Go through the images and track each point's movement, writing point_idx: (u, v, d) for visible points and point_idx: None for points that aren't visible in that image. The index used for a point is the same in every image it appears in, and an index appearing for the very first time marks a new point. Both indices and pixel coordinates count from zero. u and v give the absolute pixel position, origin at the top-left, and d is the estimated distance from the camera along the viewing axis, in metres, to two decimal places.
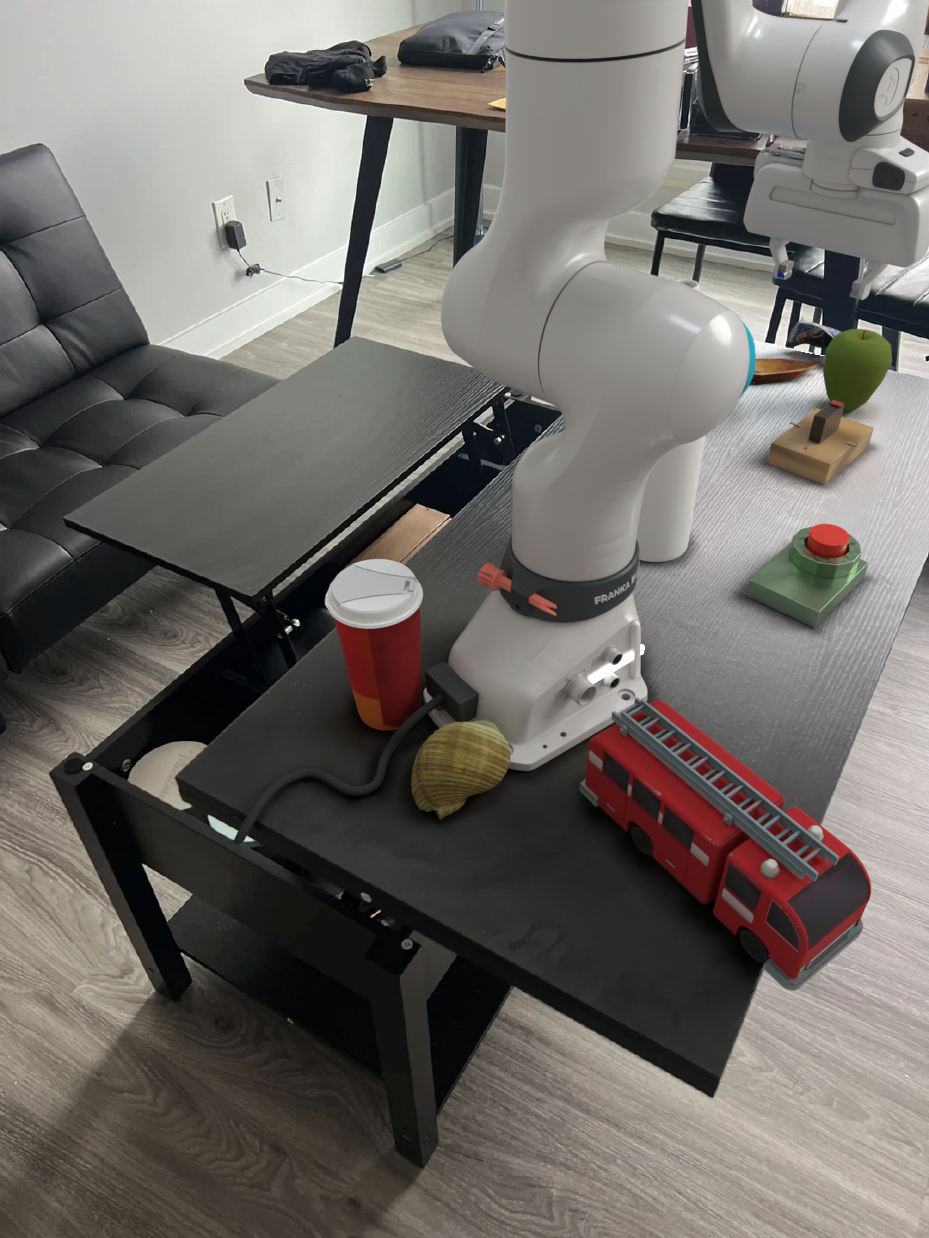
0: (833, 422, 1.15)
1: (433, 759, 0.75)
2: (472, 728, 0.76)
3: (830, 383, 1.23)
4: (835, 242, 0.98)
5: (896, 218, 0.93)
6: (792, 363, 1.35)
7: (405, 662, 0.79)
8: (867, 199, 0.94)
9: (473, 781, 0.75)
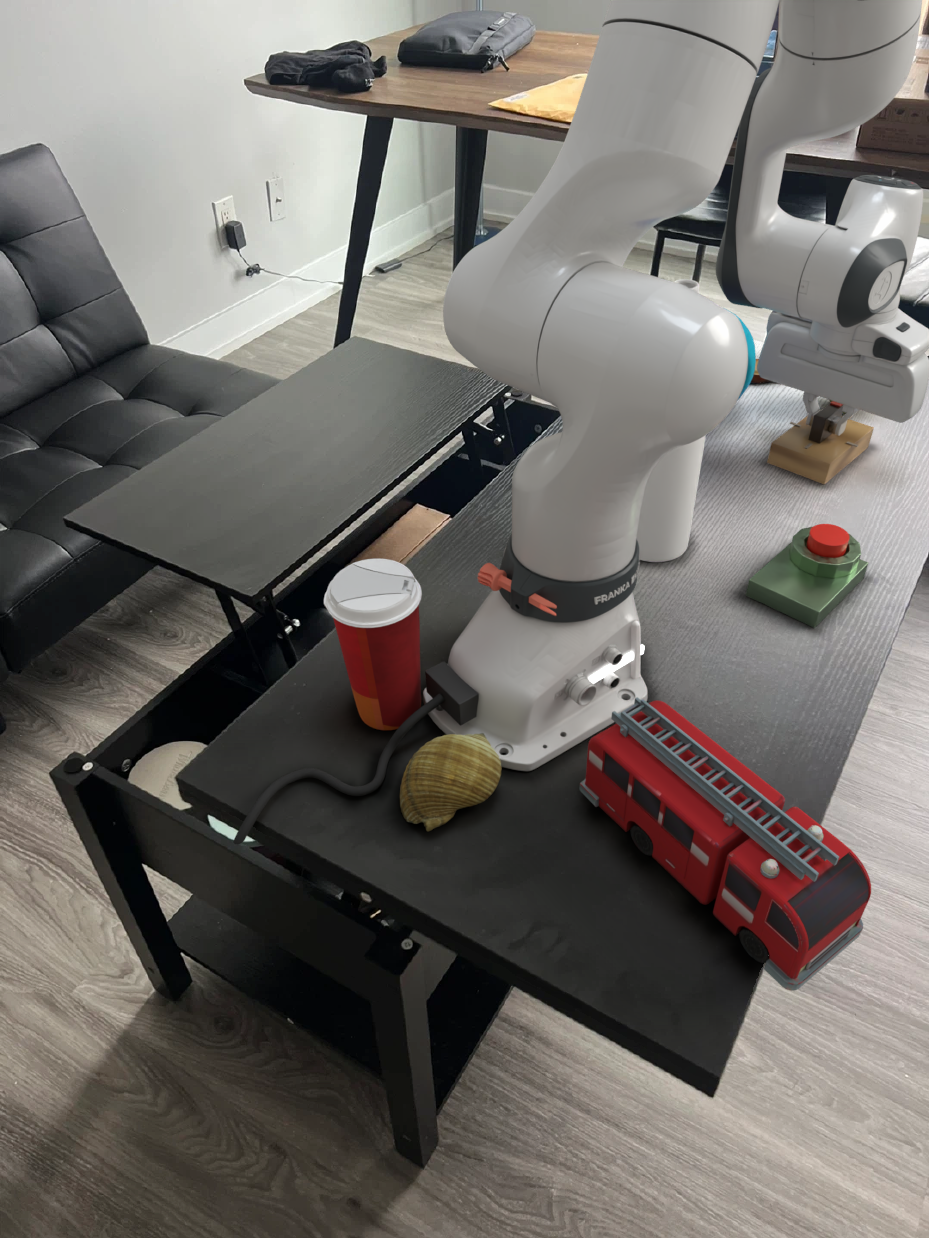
0: None
1: (423, 769, 0.74)
2: (463, 740, 0.75)
3: None
4: (839, 395, 1.10)
5: (894, 382, 1.05)
6: None
7: (403, 662, 0.79)
8: (867, 364, 1.05)
9: (462, 793, 0.74)
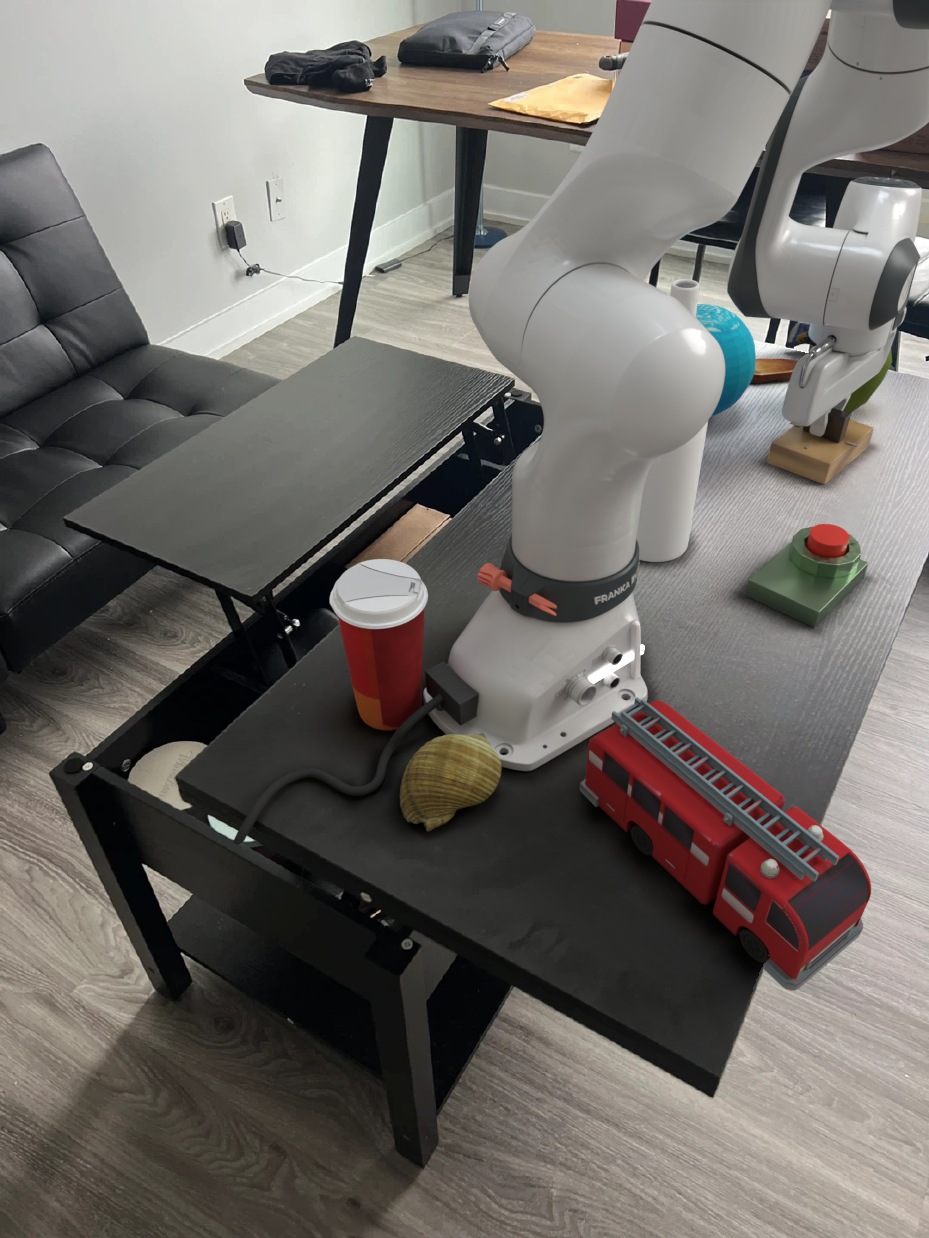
0: None
1: (423, 769, 0.74)
2: (463, 740, 0.75)
3: None
4: (853, 387, 1.12)
5: None
6: (792, 363, 1.35)
7: (407, 664, 0.79)
8: None
9: (462, 793, 0.74)
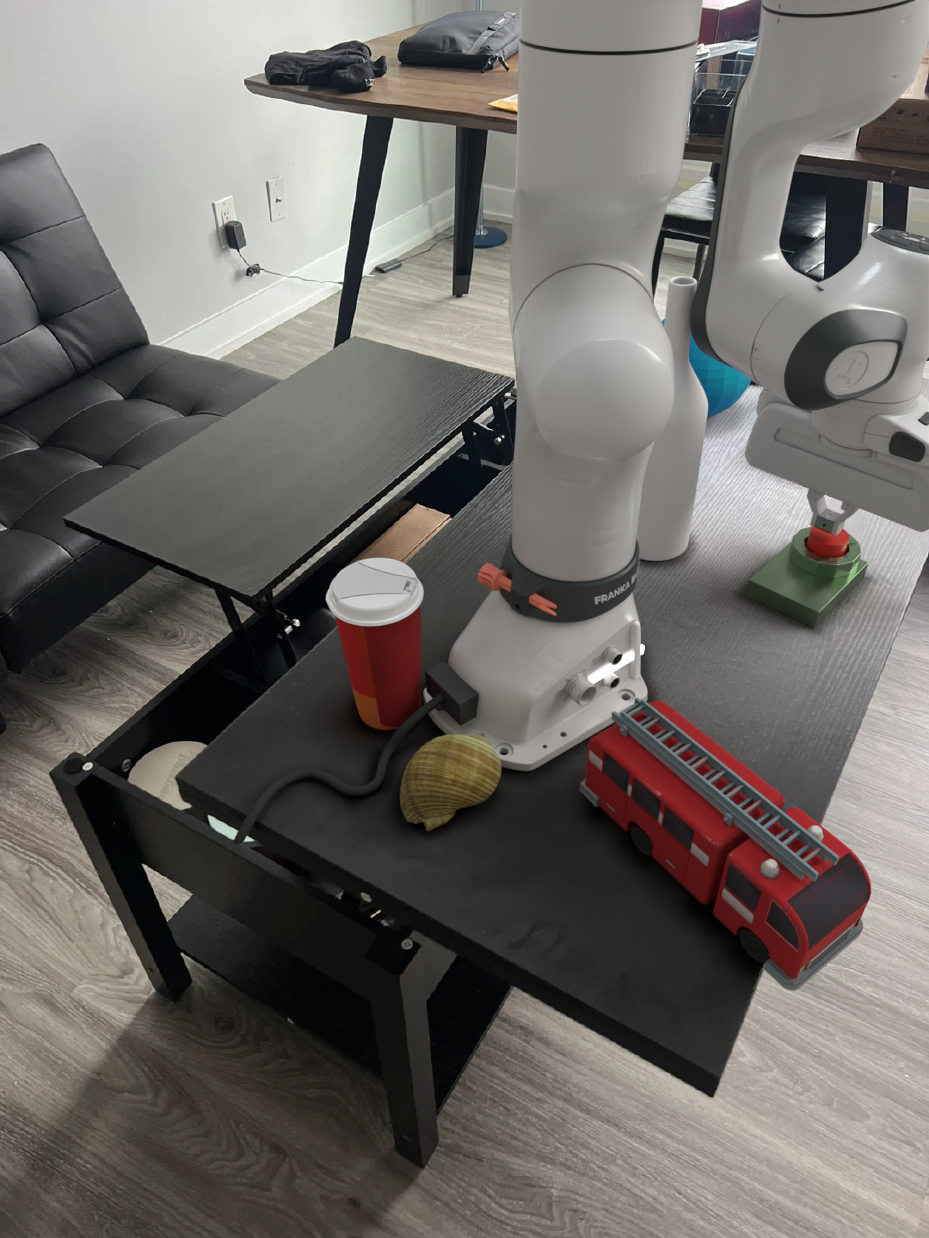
0: None
1: (423, 769, 0.74)
2: (463, 740, 0.75)
3: None
4: (845, 494, 0.90)
5: (914, 484, 0.85)
6: None
7: (402, 663, 0.79)
8: (881, 461, 0.85)
9: (462, 793, 0.74)
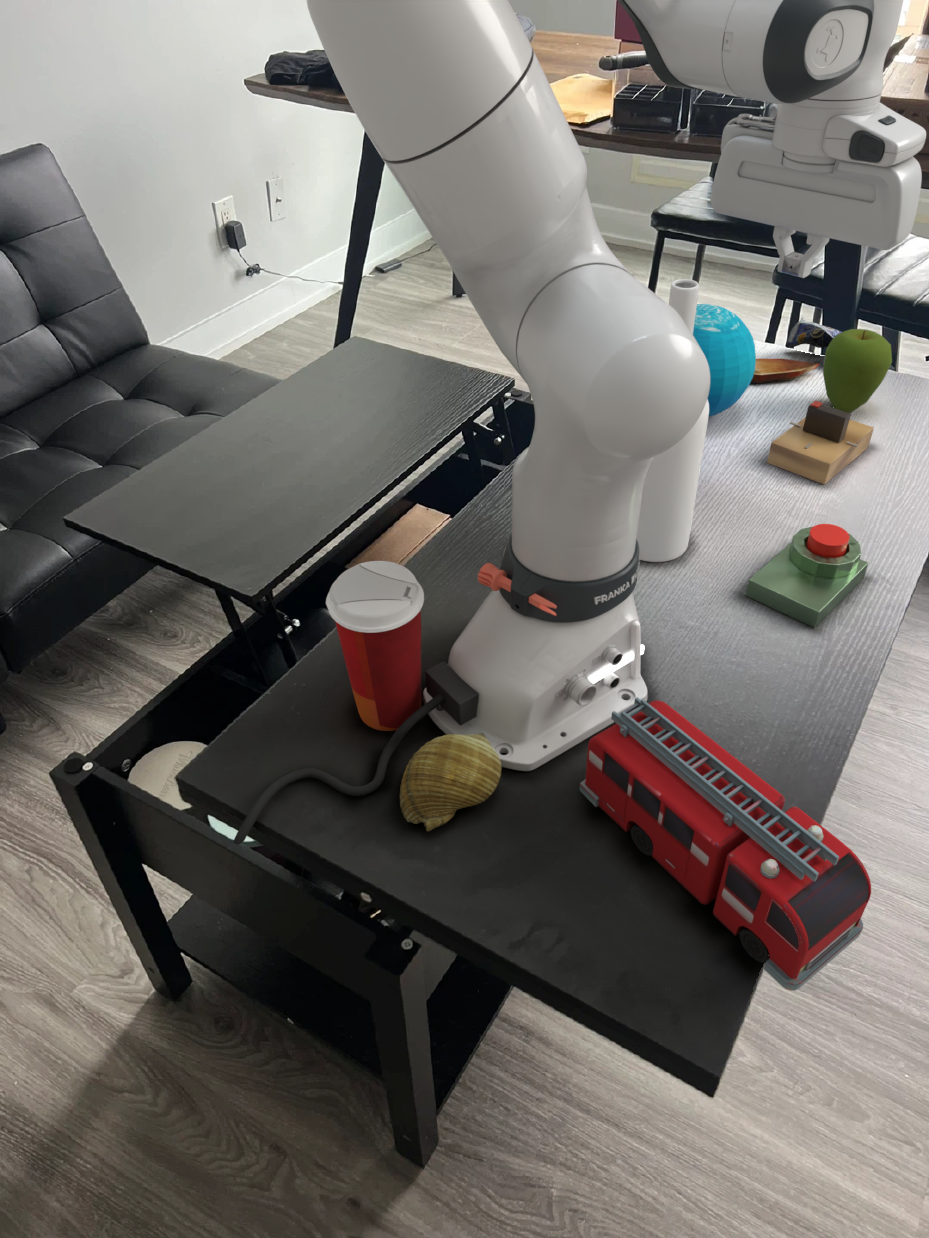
0: None
1: (423, 769, 0.74)
2: (463, 740, 0.75)
3: (830, 383, 1.23)
4: (809, 223, 0.89)
5: (876, 195, 0.83)
6: (792, 363, 1.35)
7: (401, 667, 0.79)
8: (843, 173, 0.84)
9: (462, 793, 0.74)
